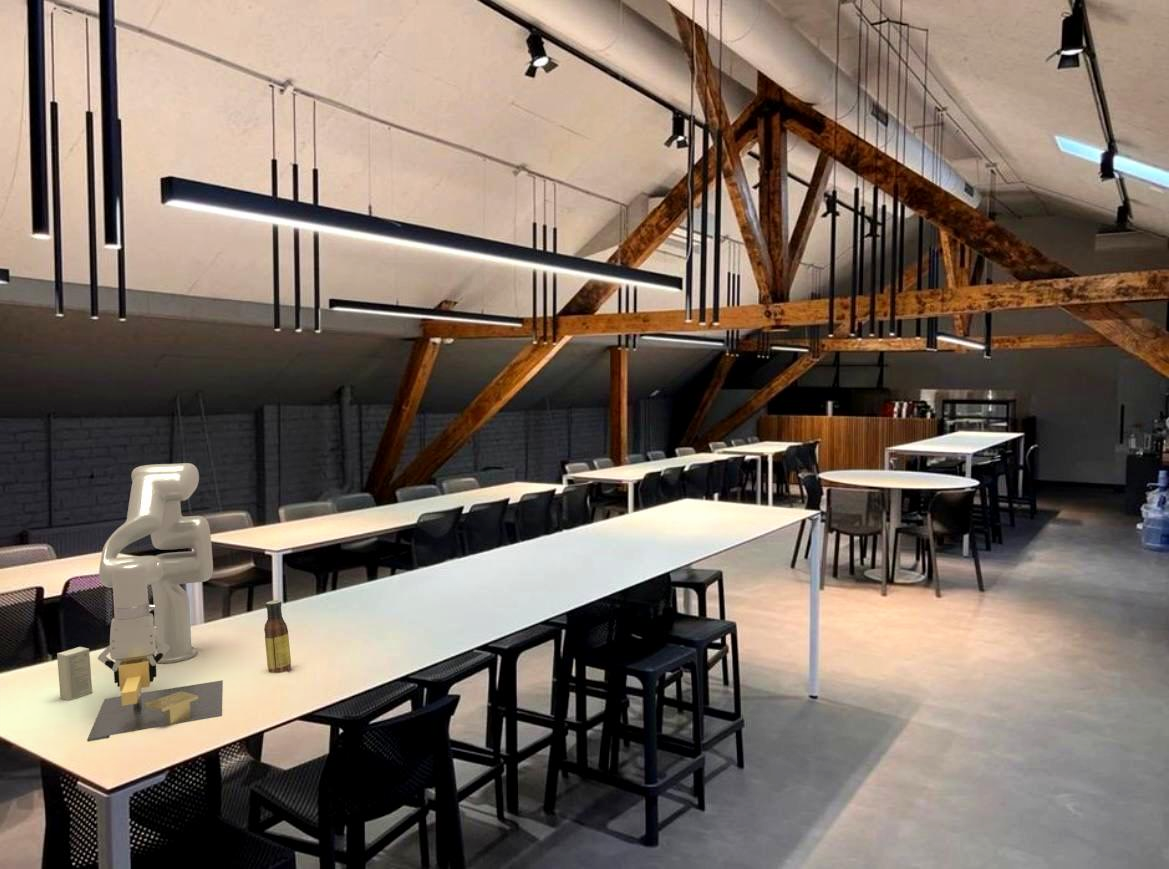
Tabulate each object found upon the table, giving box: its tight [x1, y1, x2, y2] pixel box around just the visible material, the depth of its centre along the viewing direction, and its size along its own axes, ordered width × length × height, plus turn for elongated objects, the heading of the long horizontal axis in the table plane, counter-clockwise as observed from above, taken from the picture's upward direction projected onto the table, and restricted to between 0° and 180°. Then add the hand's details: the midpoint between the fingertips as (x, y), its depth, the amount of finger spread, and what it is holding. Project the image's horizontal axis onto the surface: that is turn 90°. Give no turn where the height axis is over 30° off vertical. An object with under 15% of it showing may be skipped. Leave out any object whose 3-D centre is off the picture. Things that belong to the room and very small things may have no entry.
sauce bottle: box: [264, 599, 292, 674], centre depth 228 cm, size 6×6×20 cm
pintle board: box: [86, 680, 224, 742], centre depth 202 cm, size 29×28×6 cm
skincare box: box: [56, 646, 93, 701], centre depth 214 cm, size 6×4×12 cm
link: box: [118, 656, 152, 706], centre depth 197 cm, size 18×6×6 cm, turn 24°
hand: (135, 682), depth 203 cm, fingers closed on link, 6 cm apart
